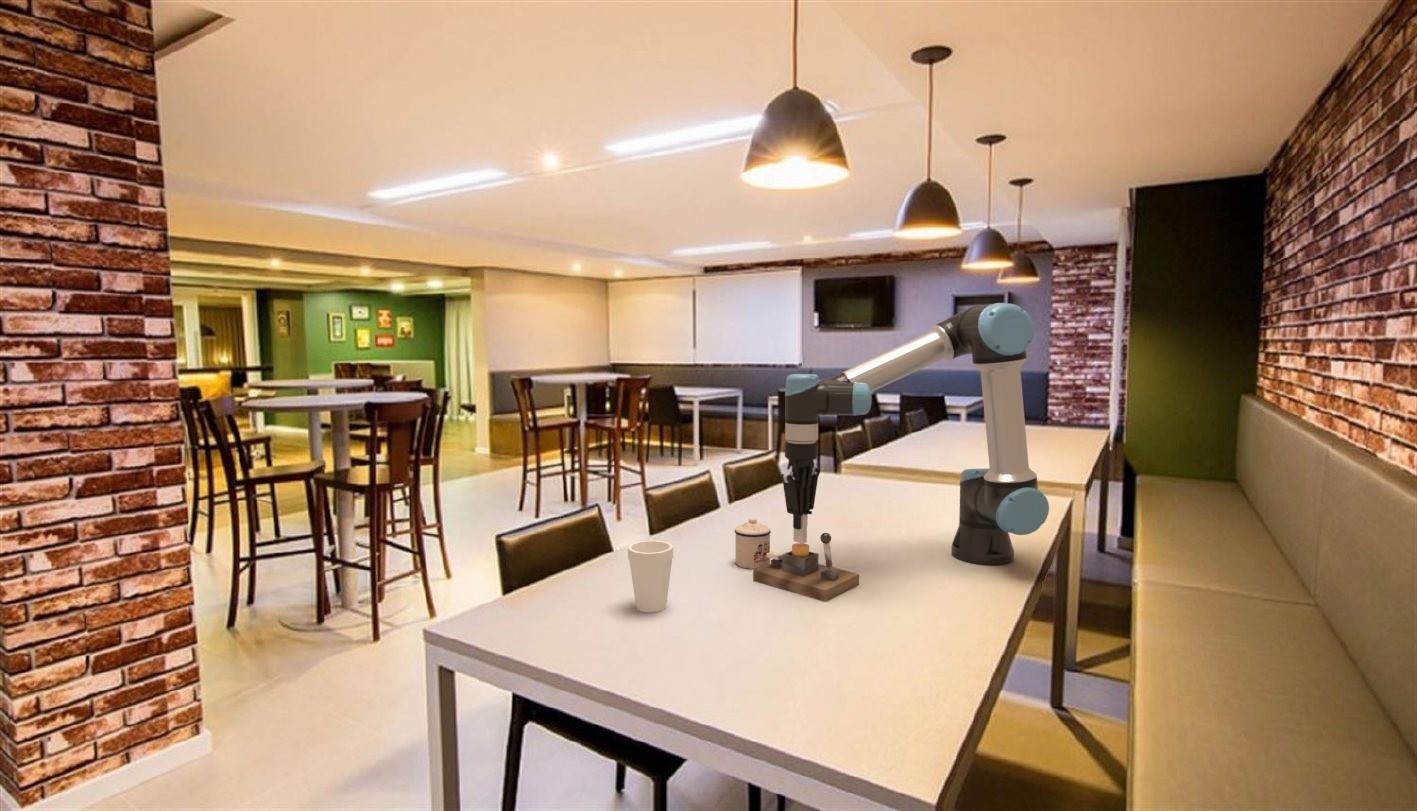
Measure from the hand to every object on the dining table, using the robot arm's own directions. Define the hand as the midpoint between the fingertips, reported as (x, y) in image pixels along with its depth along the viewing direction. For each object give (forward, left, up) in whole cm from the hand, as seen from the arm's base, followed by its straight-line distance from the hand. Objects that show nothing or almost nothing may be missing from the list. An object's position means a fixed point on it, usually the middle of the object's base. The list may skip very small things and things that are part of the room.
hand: (800, 541), depth 160 cm
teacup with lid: (+16, -4, -10) cm, 19 cm away
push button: (0, 0, -4) cm, 4 cm away
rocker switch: (+6, 0, -5) cm, 8 cm away
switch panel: (-2, 0, -10) cm, 10 cm away
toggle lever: (-8, 0, -5) cm, 9 cm away
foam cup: (+14, +34, -10) cm, 38 cm away
